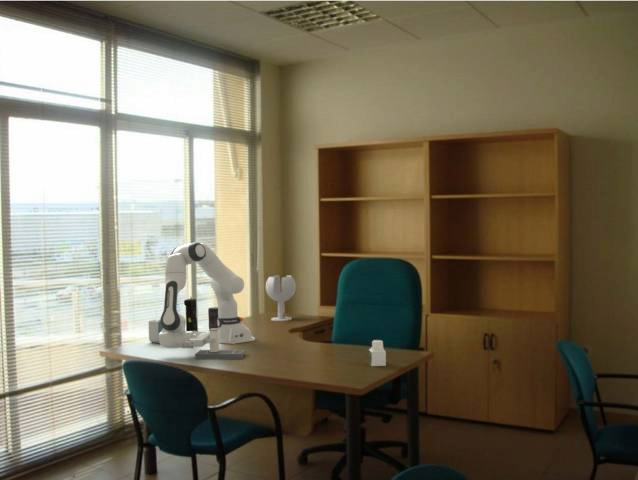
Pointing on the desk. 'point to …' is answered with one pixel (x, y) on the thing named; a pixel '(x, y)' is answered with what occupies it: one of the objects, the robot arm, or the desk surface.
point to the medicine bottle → (377, 353)
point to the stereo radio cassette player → (155, 330)
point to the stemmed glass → (281, 293)
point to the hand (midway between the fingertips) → (216, 339)
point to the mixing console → (220, 354)
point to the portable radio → (191, 315)
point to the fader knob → (215, 335)
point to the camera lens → (213, 317)
